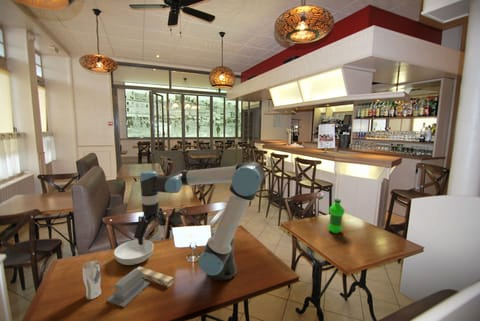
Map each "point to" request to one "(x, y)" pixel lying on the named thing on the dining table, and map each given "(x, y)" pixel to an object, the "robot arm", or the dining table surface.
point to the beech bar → (156, 277)
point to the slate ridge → (128, 288)
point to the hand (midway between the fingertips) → (152, 243)
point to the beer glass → (92, 279)
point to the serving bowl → (133, 252)
